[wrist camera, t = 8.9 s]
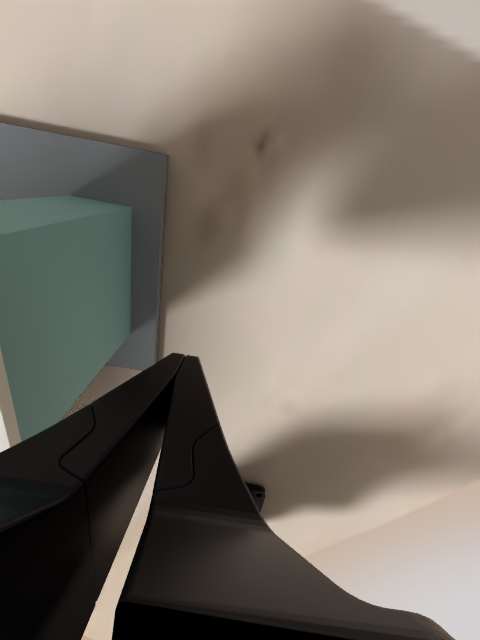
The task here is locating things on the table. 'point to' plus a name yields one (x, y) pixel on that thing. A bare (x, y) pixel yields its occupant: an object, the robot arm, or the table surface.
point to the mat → (107, 186)
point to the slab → (58, 304)
